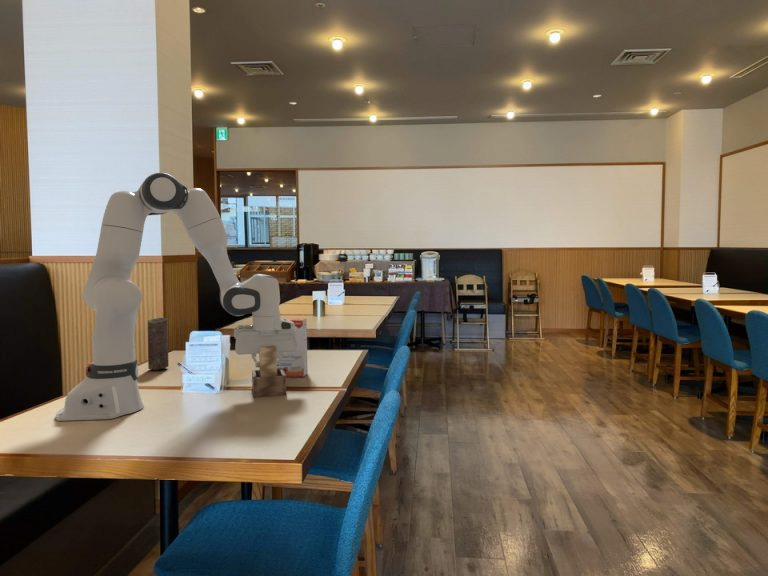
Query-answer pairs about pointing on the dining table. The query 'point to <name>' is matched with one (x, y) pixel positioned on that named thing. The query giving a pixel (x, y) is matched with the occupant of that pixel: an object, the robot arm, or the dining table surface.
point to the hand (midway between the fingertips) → (267, 366)
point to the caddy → (269, 384)
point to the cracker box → (296, 352)
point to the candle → (157, 344)
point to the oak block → (268, 361)
